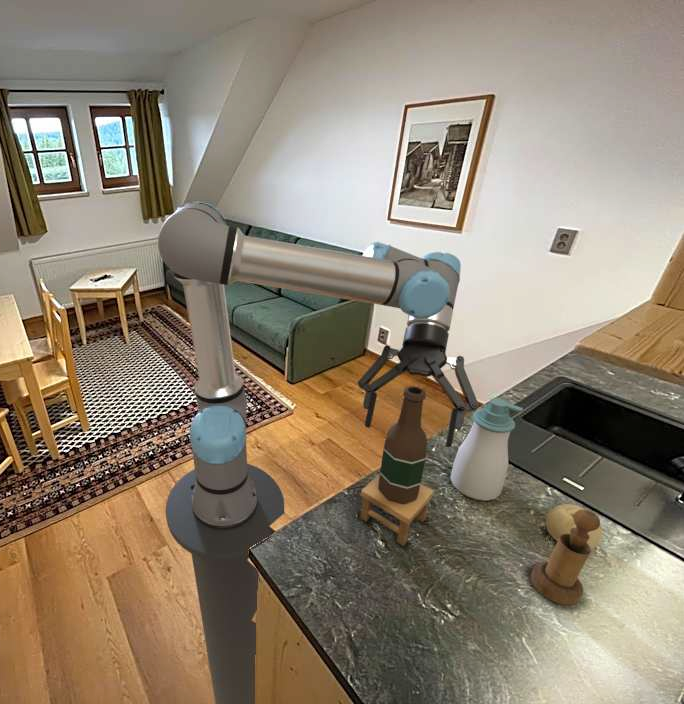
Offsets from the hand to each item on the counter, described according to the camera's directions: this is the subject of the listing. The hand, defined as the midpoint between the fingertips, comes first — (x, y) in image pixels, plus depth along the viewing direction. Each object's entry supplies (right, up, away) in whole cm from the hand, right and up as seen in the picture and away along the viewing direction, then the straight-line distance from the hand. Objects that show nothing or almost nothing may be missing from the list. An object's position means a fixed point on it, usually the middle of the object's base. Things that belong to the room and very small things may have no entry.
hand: (406, 435), depth 73 cm
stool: (+2, -20, +11) cm, 23 cm away
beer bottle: (+2, -13, +8) cm, 15 cm away
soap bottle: (+24, -15, +17) cm, 33 cm away
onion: (+33, -21, +4) cm, 39 cm away
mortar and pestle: (+24, -26, -4) cm, 35 cm away
